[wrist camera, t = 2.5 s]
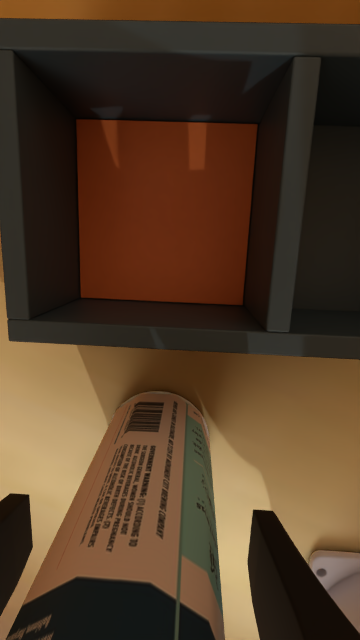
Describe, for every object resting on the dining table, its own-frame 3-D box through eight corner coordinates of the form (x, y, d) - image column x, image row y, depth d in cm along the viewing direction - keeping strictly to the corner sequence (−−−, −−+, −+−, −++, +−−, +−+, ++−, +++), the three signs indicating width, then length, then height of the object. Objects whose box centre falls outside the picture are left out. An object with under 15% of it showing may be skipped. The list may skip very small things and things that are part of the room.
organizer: (432, 328, 14) (558, 370, 9) (70, 310, 15) (8, 341, 10) (479, 115, 12) (665, 27, 7) (63, 104, 13) (-17, 15, 8)
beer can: (92, 438, 16) (-186, 951, 4) (149, 366, 15) (-9, 774, 3) (169, 491, 16) (108, 1086, 5) (229, 425, 16) (334, 962, 4)
